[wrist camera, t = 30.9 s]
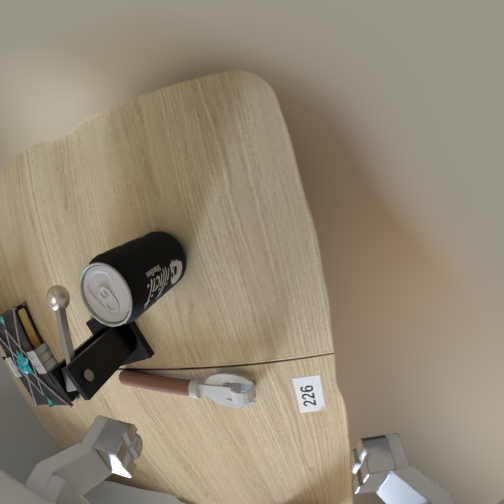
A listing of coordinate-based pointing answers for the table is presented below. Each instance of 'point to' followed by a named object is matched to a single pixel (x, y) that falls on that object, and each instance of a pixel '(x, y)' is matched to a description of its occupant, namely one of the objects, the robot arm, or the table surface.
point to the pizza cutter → (198, 387)
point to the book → (29, 357)
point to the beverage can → (131, 277)
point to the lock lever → (62, 326)
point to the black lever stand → (100, 358)
